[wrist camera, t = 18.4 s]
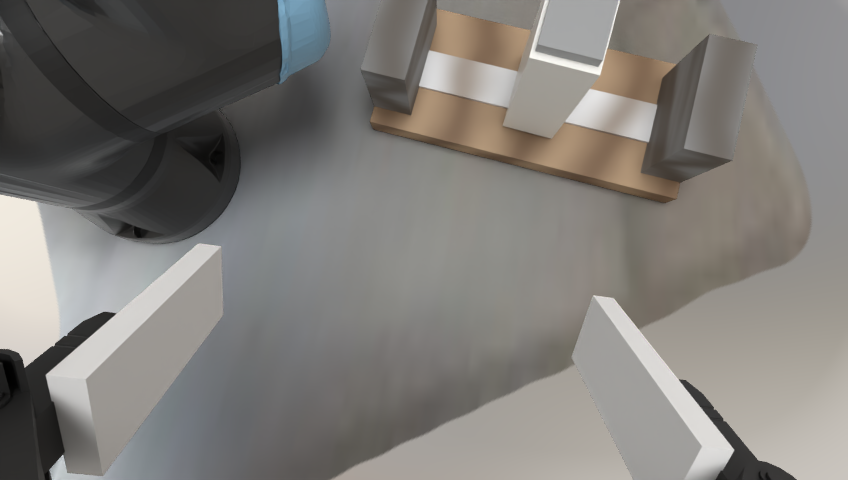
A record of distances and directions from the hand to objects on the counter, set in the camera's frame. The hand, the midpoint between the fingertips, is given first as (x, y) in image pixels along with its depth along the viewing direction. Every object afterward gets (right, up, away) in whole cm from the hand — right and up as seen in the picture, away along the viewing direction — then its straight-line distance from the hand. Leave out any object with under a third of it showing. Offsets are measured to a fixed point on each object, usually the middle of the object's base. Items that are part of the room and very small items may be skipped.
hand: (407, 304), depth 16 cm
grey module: (+11, +15, +24) cm, 30 cm away
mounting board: (+11, +15, +26) cm, 32 cm away
